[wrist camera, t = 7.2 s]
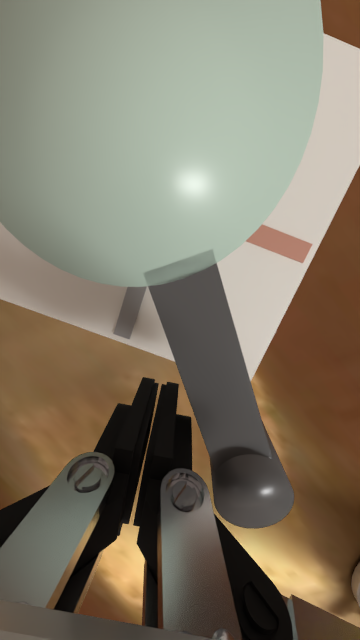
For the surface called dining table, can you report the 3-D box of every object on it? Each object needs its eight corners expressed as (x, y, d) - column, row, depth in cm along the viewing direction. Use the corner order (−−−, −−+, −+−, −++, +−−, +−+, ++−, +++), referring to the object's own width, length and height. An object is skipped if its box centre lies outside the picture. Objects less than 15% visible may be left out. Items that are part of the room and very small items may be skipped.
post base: (242, 377, 18) (248, 388, 16) (3, 291, 17) (-17, 294, 16) (383, 91, 13) (410, 66, 11) (56, -49, 12) (36, -97, 11)
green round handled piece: (3, 84, 9) (-188, -98, 4) (230, -29, 8) (284, -430, 3) (158, 449, 13) (141, 549, 8) (322, 410, 11) (403, 502, 7)
